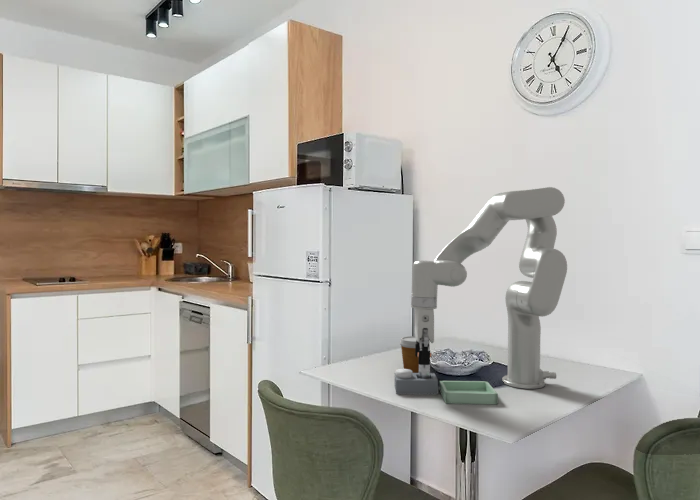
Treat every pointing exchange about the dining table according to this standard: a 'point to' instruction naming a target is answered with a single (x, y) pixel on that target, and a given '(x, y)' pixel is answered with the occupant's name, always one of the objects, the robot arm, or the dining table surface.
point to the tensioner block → (414, 383)
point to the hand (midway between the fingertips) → (422, 360)
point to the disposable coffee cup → (409, 353)
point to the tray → (468, 392)
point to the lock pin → (424, 371)
